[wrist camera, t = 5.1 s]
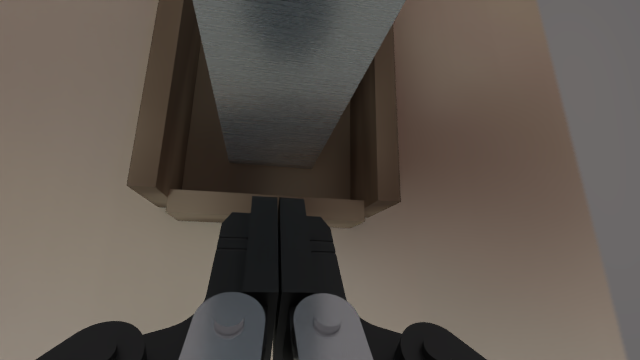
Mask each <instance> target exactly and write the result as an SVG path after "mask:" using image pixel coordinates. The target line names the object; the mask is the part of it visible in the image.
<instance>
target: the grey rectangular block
mask: <svg viewBox="0 0 640 360" xmlns="http://www.w3.org/2000/svg"><path fill="white" fill-rule="evenodd" d="M405 1H406V0H193V5H194V9H195V14H196V18H197V22H198V27H199V31H200V36H201V40H202V45H203V49H204V53H205V58H206V62H207V67H208V71H209V75H210V80H211V84H212V89H213V93H214V97H215V102H216V106H217V111H218V115H219V120H220V124H221V128H222V133H223V137H224V142H225V146H226V150H227V155H228V159H229V163H236V164H250V165H263V166H277V167H291V168H304V169H312V168H313V166H314V164H315V162H316V160H317V159H318V157H319V155H320V153H321V151H322V150H323V148H324V146H325V144H326V142H327V141H328V139H329V137H330V135H331V133H332V132H333V130H334V128H335V126H336V124H337V123H338V121H339V119H340V117H341V116H342V114H343V112H344V110H345V108H346V107H347V105H348V103H349V101H350V99H351V98H352V96H353V94H354V92H355V90H356V89H357V87H358V85H359V83H360V81H361V80H362V78H363V76H364V74H365V73H366V71H367V69H368V67H369V65H370V64H371V62H372V60H373V58H374V56H375V55H376V53H377V51H378V49H379V47H380V46H381V44H382V42H383V40H384V38H385V37H386V35H387V33H388V31H389V29H390V28H391V26H392V24H393V22H394V21H395V19H396V17H397V15H398V13H399V12H400V10H401V8H402V6H403V4H404V3H405Z"/></svg>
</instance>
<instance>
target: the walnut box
mask: <svg viewBox="0 0 640 360" xmlns="http://www.w3.org/2000/svg"><path fill="white" fill-rule="evenodd" d="M127 186H128V187H130V188H131V189H133V190H134V191H135V192H137V193H138V194H140V195H141V196H143V197H144V198H146V199H147V200H149V201H150V202H152V203H153V204H155V205H156V206H158V207H166V213H168V214H169V215H171V216H172V217H174V218H175V219H176V220H178V221H200V222H223V221H224V220H225V219H226V218H227V217H228V216H229V215H230V214H231V213H232V212H241V213H251V204H252V196H264V197H277V200H278V202H279V197H282V198H298V199H304V201H305V209H306V216H318V217H321V218H322V219H323V220H324V221H325V222H326V224H327V225H328V226H329V227H336V228H352V227H354V226H356V225H358V224H360V223H363V222H365V217H370V216H372V215H374V214H376V213H378V212H380V211H382V210H384V209H387V208H389V207H391V206H393V205H395V204H397V203H399V202H401V198H400V175H399V152H398V129H397V106H396V84H395V61H394V38H393V24H392V26H391V28H390V29H389V31H388V33H387V35H386V37H385V38H384V40H383V42H382V44H381V46H380V47H379V49H378V51H377V53H376V55H375V56H374V58H373V60H372V62H371V64H370V65H369V67H368V69H367V71H366V73H365V74H364V76H363V78H362V80H361V81H360V83H359V85H358V87H357V89H356V90H355V92H354V94H353V96H352V98H351V99H350V101H349V103H348V105H347V107H346V108H345V110H344V112H343V114H342V116H341V117H340V119H339V121H338V123H337V124H336V126H335V128H334V130H333V132H332V133H331V135H330V137H329V139H328V141H327V142H326V144H325V146H324V148H323V150H322V151H321V153H320V155H319V157H318V159H317V160H316V162H315V164H314V166H313V168H312V169H304V168H291V167H277V166H263V165H250V164H236V163H229V159H228V155H227V150H226V146H225V142H224V137H223V133H222V128H221V124H220V120H219V115H218V111H217V106H216V102H215V97H214V93H213V89H212V84H211V80H210V75H209V71H208V67H207V62H206V58H205V53H204V49H203V45H202V40H201V36H200V31H199V27H198V22H197V18H196V14H195V9H194V5H193V0H159V3H158V8H157V14H156V20H155V25H154V31H153V37H152V43H151V48H150V54H149V60H148V66H147V71H146V77H145V83H144V88H143V94H142V100H141V106H140V111H139V117H138V123H137V129H136V134H135V140H134V146H133V151H132V157H131V163H130V169H129V174H128V180H127Z"/></svg>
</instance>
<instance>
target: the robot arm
mask: <svg viewBox="0 0 640 360" xmlns="http://www.w3.org/2000/svg"><path fill="white" fill-rule="evenodd" d="M272 341H273V360H486V359H485V358H484V357H482V356H481V355H480V354H478V353H477V352H476V351H474V350H473V349H472V348H471V347H469V346H468V345H467V344H465V343H464V342H463V341H461V340H460V339H459V338H457V337H456V336H455V335H453V334H452V333H451V332H449V331H448V330H446V329H444V328H442V327H440V326H438V325H435V324H432V323H426V322H420V323H414V324H412V325H410V326H408V327H407V328H406V329H405V330H404V332H403V334H400V333H397V332H393V331H390V330H387V329H383V328H380V327H377V326H374V325H372V324H370V323H368V322H366V321H364V320H363V319H361V318H360V317H359V316H358V314H357V312H356V310H355V309H354V308H353V307H352V305H351V304H349V303H348V302H347V300H346V297H345V293H344V288H343V284H342V279H341V275H340V270H339V266H338V261H337V257H336V254H335V248H334V243H333V239H332V234H331V230H330V227H329V226H328V225H327V224H326V222H325V221H324V220H323V219H322V218H321V217H318V216H306V209H305V201H304V199H298V198H282V197H279V202H278V200H277V197H264V196H252V204H251V213H241V212H232V213H231V214H230V215H229V216H228V217H227V218H226V219H225V220H224V221H223V223H222V226H221V230H220V235H219V240H218V244H217V250H216V253H215V258H214V263H213V267H212V272H211V276H210V281H209V285H208V290H207V295H206V298H205V300H204V302H203V303H202V304H201V305H200V306H199V307H198V309H197V310H196V312H195V314H193V315H192V316H191V317H190V318H188V319H187V320H185V321H183V322H182V323H179V324H177V325H175V326H172V327H169V328H166V329H162V330H158V331H155V332H151V333H148V334H144V335H142V333H141V332H140V331H139V330H138V328H136V327H135V326H133V325H131V324H129V323H126V322H121V321H109V322H103V323H98V324H95V325H92V326H89V327H87V328H85V329H83V330H81V331H79V332H78V333H76V334H74V335H73V336H71V337H70V338H68V339H67V340H65V341H63V342H62V343H60V344H59V345H57V346H56V347H54V348H53V349H51V350H50V351H48V352H47V353H45V354H44V355H42V356H41V357H39V358H37V359H36V360H270V358H271V349H272Z"/></svg>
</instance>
